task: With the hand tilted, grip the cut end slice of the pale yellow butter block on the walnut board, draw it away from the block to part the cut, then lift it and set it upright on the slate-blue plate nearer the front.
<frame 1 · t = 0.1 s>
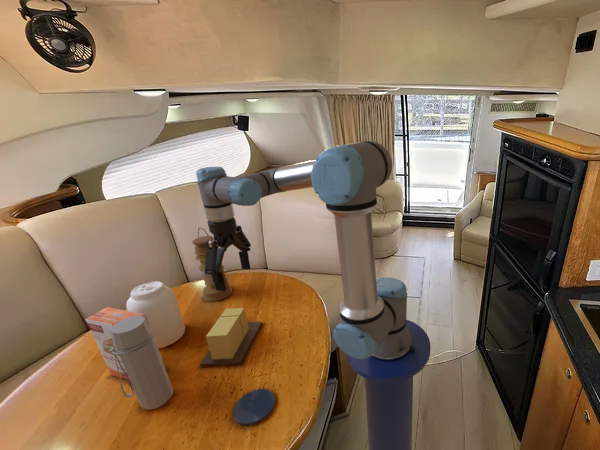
hand: (234, 278, 103), 21 cm above the table, tool pointing down, fingers open, 13 cm apart
white jar: (164, 337, 106), on the table
lantern: (218, 294, 130), on the table
butter block: (228, 348, 100), resting on butter board
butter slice: (237, 333, 106), point 1 cm above the table, touching butter board
water bottle: (154, 402, 84), on the table
butter board: (234, 343, 104), on the table
cracker box: (139, 374, 92), on the table
plate: (254, 407, 82), on the table
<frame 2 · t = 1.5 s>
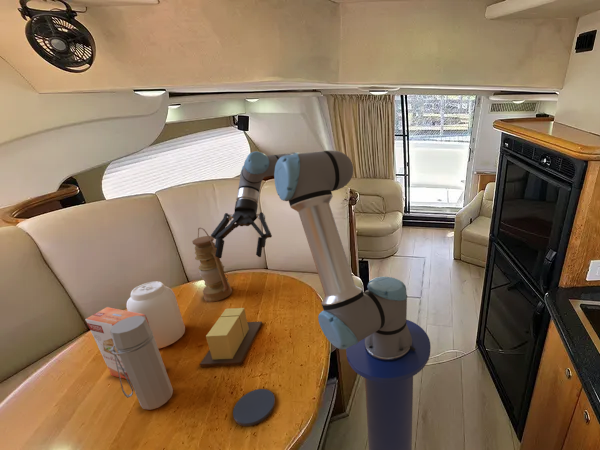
hand: (238, 256, 109), 25 cm above the table, tool tilted 45°, fingers open, 13 cm apart
nothing on the table moved.
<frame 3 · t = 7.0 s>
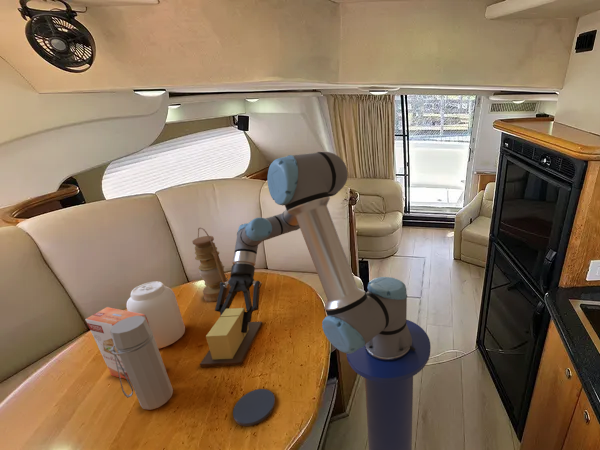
hand: (233, 332, 103), 4 cm above the table, tool tilted 45°, fingers closed on butter block, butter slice, 6 cm apart
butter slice: (237, 333, 106), point 1 cm above the table, touching butter board, gripper
everything else where it was.
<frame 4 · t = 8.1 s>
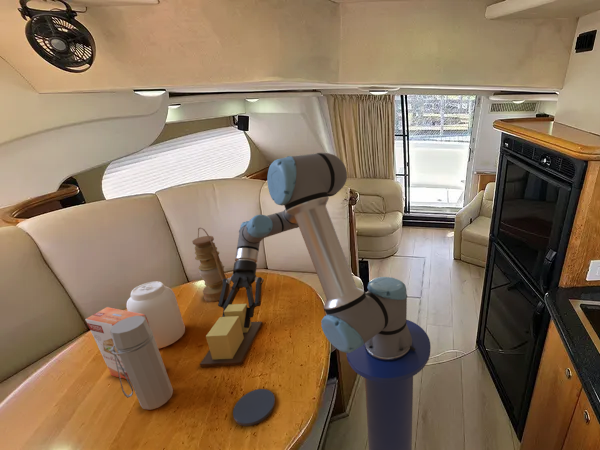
hand: (236, 327, 105), 4 cm above the table, tool tilted 45°, fingers closed on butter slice, 6 cm apart
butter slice: (240, 328, 109), point 1 cm above the table, touching gripper
everything else where it was.
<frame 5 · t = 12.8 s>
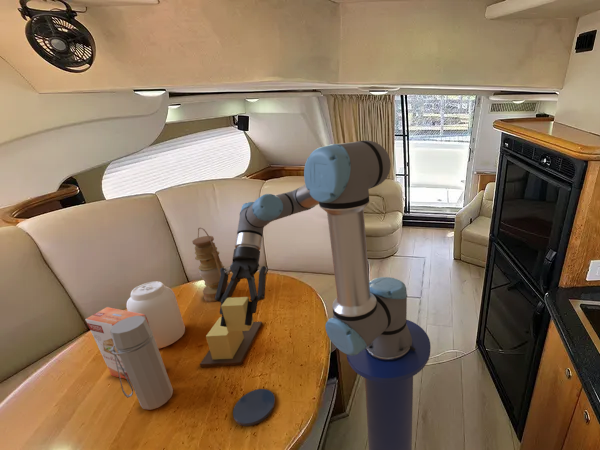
hand: (236, 325, 89), 15 cm above the table, tool tilted 45°, fingers closed on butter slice, 6 cm apart
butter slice: (241, 326, 92), point 13 cm above the table, touching gripper
everything else where it was.
when the fingers open (3 cm above the table, at t = 18.7 s): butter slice stays where it is, resting on plate.
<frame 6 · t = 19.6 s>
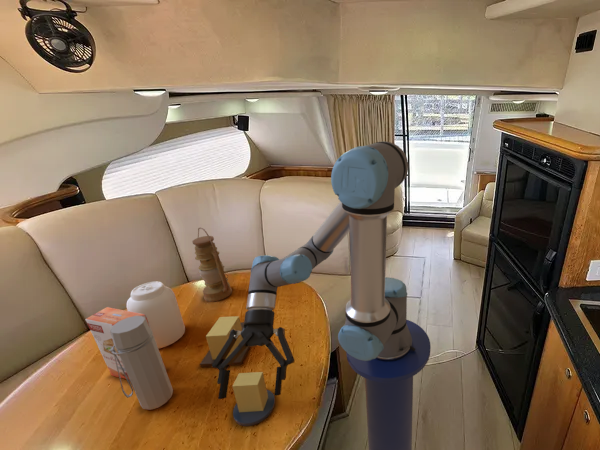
hand: (250, 396, 79), 5 cm above the table, tool tilted 45°, fingers open, 13 cm apart
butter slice: (254, 404, 82), point 1 cm above the table, touching plate
everything else where it was.
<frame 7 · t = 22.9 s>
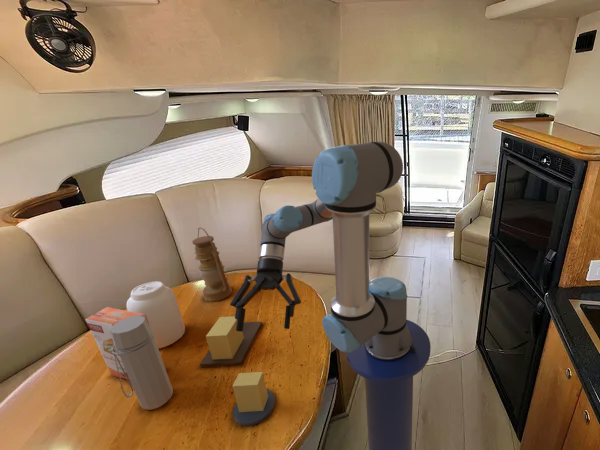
hand: (263, 329, 92), 12 cm above the table, tool tilted 45°, fingers open, 13 cm apart
nothing on the table moved.
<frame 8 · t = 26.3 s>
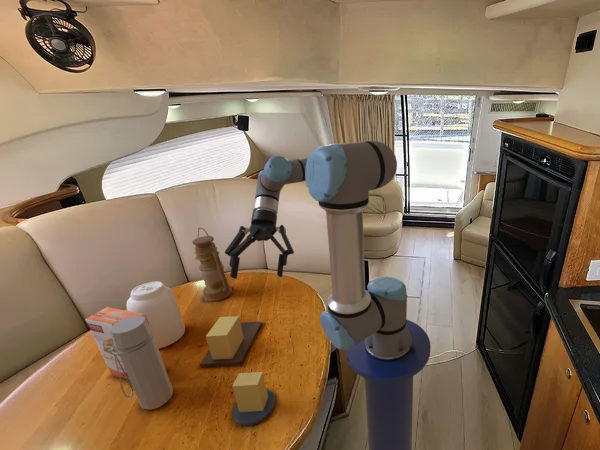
hand: (256, 276, 94), 26 cm above the table, tool tilted 45°, fingers open, 13 cm apart
nothing on the table moved.
at the end: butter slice inside the target area on the plate (0.1 cm from its centre), point 1.0 cm above the plate's base; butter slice tilted 0°; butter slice touching plate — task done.
